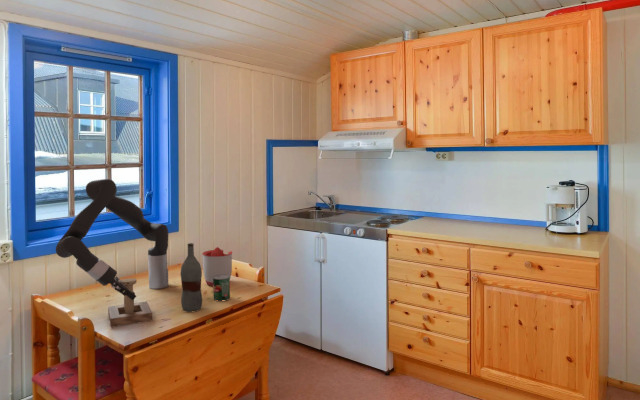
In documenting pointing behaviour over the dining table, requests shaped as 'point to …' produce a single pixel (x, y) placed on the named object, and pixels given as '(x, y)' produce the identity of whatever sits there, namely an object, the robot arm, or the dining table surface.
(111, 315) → the holder
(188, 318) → the dining table surface
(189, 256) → the bottle
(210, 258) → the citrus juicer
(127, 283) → the handle
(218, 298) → the canned tomato
